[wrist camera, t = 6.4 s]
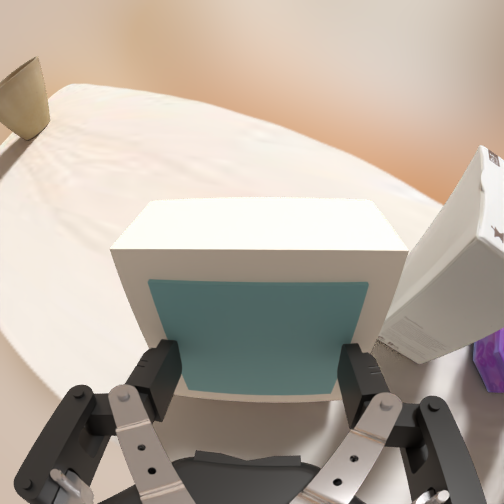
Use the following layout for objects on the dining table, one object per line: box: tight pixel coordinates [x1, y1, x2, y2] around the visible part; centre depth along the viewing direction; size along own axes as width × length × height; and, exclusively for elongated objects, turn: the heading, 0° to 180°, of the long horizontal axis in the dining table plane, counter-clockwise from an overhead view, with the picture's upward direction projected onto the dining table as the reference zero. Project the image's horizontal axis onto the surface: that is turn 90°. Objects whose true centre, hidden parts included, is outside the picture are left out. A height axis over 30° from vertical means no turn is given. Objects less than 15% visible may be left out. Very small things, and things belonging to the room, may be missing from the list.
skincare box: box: [377, 145, 504, 364], centre depth 14 cm, size 8×6×15 cm
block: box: [110, 197, 409, 403], centre depth 15 cm, size 12×5×12 cm, turn 88°
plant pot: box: [0, 56, 50, 140], centre depth 35 cm, size 15×15×16 cm
